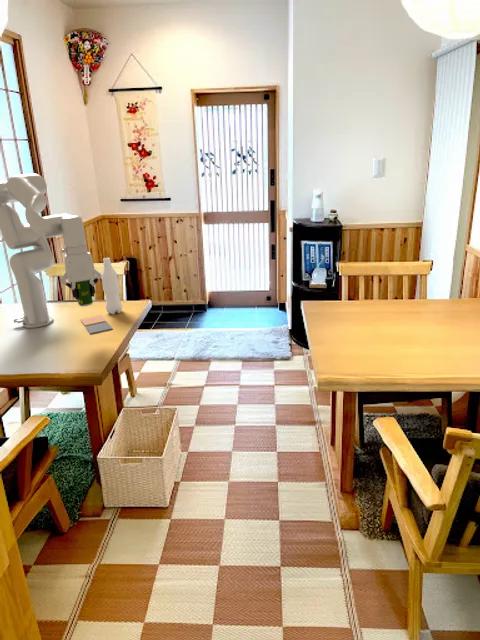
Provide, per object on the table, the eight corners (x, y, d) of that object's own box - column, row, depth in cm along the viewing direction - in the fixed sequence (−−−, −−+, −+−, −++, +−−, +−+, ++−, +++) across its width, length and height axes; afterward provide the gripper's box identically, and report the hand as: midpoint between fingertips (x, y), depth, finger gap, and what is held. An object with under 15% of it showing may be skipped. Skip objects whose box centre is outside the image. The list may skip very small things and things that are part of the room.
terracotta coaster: (84, 326, 196) (84, 325, 195) (80, 320, 203) (80, 319, 203) (106, 321, 200) (106, 320, 199) (101, 316, 207) (101, 315, 207)
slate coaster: (90, 334, 187) (90, 333, 186) (85, 327, 194) (85, 326, 194) (112, 329, 190) (112, 328, 190) (107, 323, 198) (107, 321, 198)
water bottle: (125, 309, 214) (117, 256, 205) (119, 314, 207) (111, 260, 199) (110, 310, 215) (101, 257, 206) (104, 315, 208) (95, 260, 200)
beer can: (88, 301, 181) (83, 271, 177) (96, 303, 178) (90, 273, 174) (75, 305, 177) (70, 274, 173) (83, 307, 174) (78, 276, 170)
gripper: (53, 255, 163) (62, 304, 170) (102, 248, 171) (109, 295, 177) (50, 251, 170) (59, 299, 176) (97, 245, 177) (105, 291, 183)
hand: (84, 296), depth 177 cm, fingers closed on beer can, 5 cm apart
